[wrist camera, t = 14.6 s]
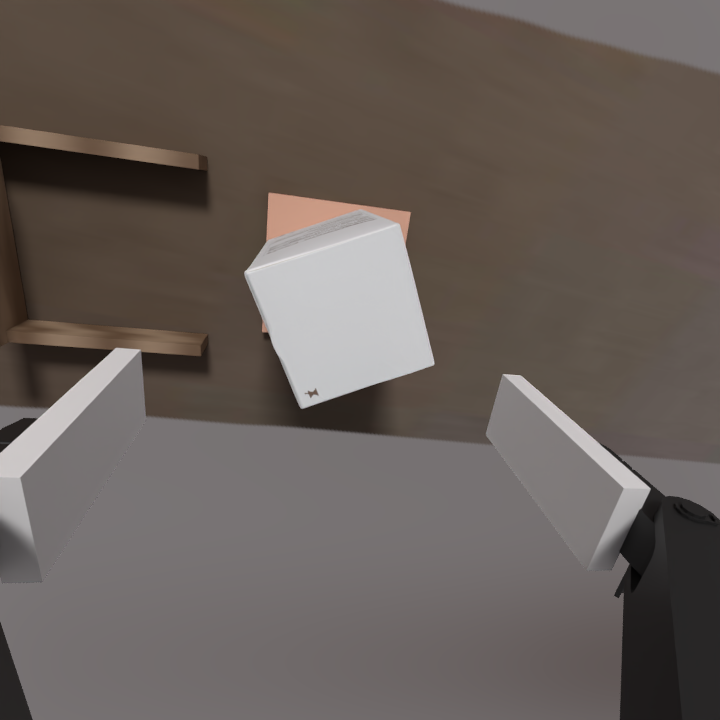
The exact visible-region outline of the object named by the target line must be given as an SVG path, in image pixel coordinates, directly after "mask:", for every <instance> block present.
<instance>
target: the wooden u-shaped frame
mask: <svg viewBox="0 0 720 720" xmlns="http://www.w3.org/2000/svg"><path fill="white" fill-rule="evenodd" d="M0 141H3V142H10V143H17V144H24V145H31V146H38V147H45V148H52V149H59V150H66V151H73V152H80V153H87V154H94V155H101V156H108V157H115V158H122V159H129V160H136V161H143V162H150V163H157V164H164V165H171V166H178V167H185V168H192V169H199V170H206V171H207V157H205V156H202V155H198V154H191V153H184V152H178V151H171V150H164V149H157V148H151V147H144V146H137V145H130V144H124V143H117V142H110V141H104V140H97V139H90V138H83V137H77V136H70V135H63V134H56V133H50V132H43V131H36V130H29V129H23V128H16V127H9V126H2V125H0ZM8 342H11V343H25V344H38V345H52V346H66V347H80V348H94V349H108V350H114V349H115V348H125V349H140V350H141V352H150V353H164V354H178V355H192V356H201V355H202V353H203V351H204V350H205V348H206V346H207V345H208V334H201V333H188V332H176V331H164V330H151V329H139V328H126V327H114V326H101V325H89V324H77V323H64V322H52V321H39V320H28V316H27V310H26V304H25V298H24V292H23V287H22V281H21V275H20V269H19V263H18V257H17V252H16V246H15V240H14V234H13V228H12V222H11V217H10V211H9V205H8V199H7V193H6V188H5V182H4V176H3V170H2V164H1V158H0V346H2V345H4V344H6V343H8Z"/></svg>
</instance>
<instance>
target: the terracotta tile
mask: <svg viewBox="0 0 720 720" xmlns="http://www.w3.org/2000/svg"><path fill="white" fill-rule="evenodd" d="M359 209H362V210H365V211H367V212H370V213H373V214H375V215H378V216H380V217H383V218H386V219H388V220H391V221H394V222H396V223H399V224H400V227H401V231H402V234H403V238H404V242H405V244H406V238H407V232H408V226H409V220H410V214H411V212H407V211H400V210H393V209H386V208H378V207H371V206H364V205H357V204H349V203H342V202H335V201H327V200H320V199H313V198H306V197H298V196H291V195H284V194H277V193H269V198H268V220H267V241H268V240H270V239H272V238H275V237H278V236H281V235H284V234H287V233H290V232H293V231H296V230H299V229H302V228H305V227H308V226H311V225H314V224H317V223H320V222H323V221H326V220H329V219H332V218H335V217H338V216H341V215H344V214H347V213H350V212H353V211H356V210H359ZM267 241H266V242H267ZM262 332H268V330H267V328H266V326H265V323H264V321H263V325H262Z"/></svg>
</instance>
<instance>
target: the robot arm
mask: <svg viewBox="0 0 720 720" xmlns="http://www.w3.org/2000/svg"><path fill="white" fill-rule="evenodd" d="M145 421H146V415H145V401H144V387H143V372H142V358H141V350H140V349H125V348H115V349H114V350H113V351H112V352H111V353H110V354H109V355H108V356H107V357H105V358H104V359H103V360H102V361H101V362H100V363H99V364H98V365H97V366H96V367H94V368H93V369H92V370H91V371H90V372H89V373H88V374H87V375H86V376H85V377H83V378H82V379H81V380H80V381H79V382H78V383H77V384H76V385H75V386H74V387H72V388H71V389H70V390H69V391H68V392H67V393H66V394H65V395H64V396H63V397H61V398H60V399H59V400H58V401H57V402H56V403H55V404H54V405H53V406H52V407H50V408H49V409H48V410H47V411H46V412H45V413H44V414H43V415H42V416H41V417H39V418H38V419H35V418H23V419H21V420H19V421H17V422H15V423H13V424H11V425H9V426H7V427H4V428H2V429H1V430H0V577H1V581H2V583H34V582H43V581H44V579H45V578H46V576H47V574H48V573H49V571H50V570H51V568H52V567H53V565H54V564H55V562H56V560H57V558H58V557H59V556H60V554H61V552H62V551H63V549H64V548H65V546H66V545H67V543H68V542H69V540H70V538H71V537H72V535H73V534H74V532H75V530H76V529H77V528H78V526H79V525H80V523H81V521H82V520H83V518H84V517H85V515H86V514H87V512H88V510H89V509H90V507H91V506H92V504H93V503H94V501H95V500H96V498H97V496H98V495H99V493H100V492H101V490H102V488H103V487H104V485H105V484H106V482H107V481H108V479H109V478H110V476H111V475H112V473H113V471H114V469H115V468H116V467H117V465H118V464H119V462H120V460H121V459H122V457H123V456H124V454H125V453H126V451H127V450H128V448H129V446H130V445H131V443H132V442H133V440H134V439H135V437H136V435H137V434H138V432H139V431H140V429H141V428H142V426H143V425H144V423H145ZM486 436H487V437H488V438H489V440H490V441H491V442H492V444H493V445H494V447H495V448H496V449H497V450H498V452H499V453H500V455H501V456H502V457H503V459H504V460H505V461H506V462H507V464H508V465H509V467H510V468H511V469H512V471H513V472H514V474H515V475H516V476H517V477H518V479H519V480H520V482H521V483H522V484H523V486H524V487H525V488H526V490H527V491H528V492H529V494H530V495H531V497H532V498H533V499H534V501H535V502H536V503H537V505H538V506H539V507H540V509H541V510H542V511H543V513H544V514H545V515H546V517H547V518H548V519H549V521H550V522H551V523H552V525H553V526H554V528H555V529H556V530H557V532H558V533H559V534H560V536H561V537H562V538H563V540H564V541H565V543H566V544H567V545H568V547H569V548H570V549H571V551H572V552H573V553H574V554H575V556H576V557H577V559H578V560H579V561H580V563H581V564H582V565H583V567H584V568H585V570H586V571H599V570H612V568H613V566H614V564H615V562H616V560H617V558H618V556H619V553H621V554H622V555H623V557H624V558H625V559H626V560H627V561H628V562H629V563H630V564H629V566H628V568H627V571H626V573H625V574H624V576H623V578H622V580H621V582H620V584H619V586H618V588H617V590H616V592H615V595H614V596H616V597H618V598H619V596H620V595H621V593H624V605H623V608H624V609H623V637H622V669H621V670H622V671H621V701H620V702H621V703H620V720H720V520H719V519H718V518H717V517H716V516H715V515H714V514H713V513H711V512H710V511H708V510H707V509H705V508H704V507H702V506H700V505H698V504H696V503H694V502H692V501H690V500H687V499H683V498H680V497H673V496H667V497H665V496H664V495H663V494H662V493H661V492H660V491H658V490H657V489H656V488H655V487H653V485H651V484H650V483H649V482H648V481H647V480H645V479H644V478H643V477H642V476H641V475H640V474H639V473H637V472H636V471H635V470H632V468H631V467H630V466H629V465H628V464H627V463H626V462H625V461H622V459H621V458H620V457H619V456H618V455H616V454H615V453H614V452H613V451H612V450H611V449H609V448H607V447H606V446H604V445H602V444H601V443H599V442H597V441H595V440H594V439H593V438H592V437H591V436H590V435H589V434H587V433H586V432H585V431H584V430H583V429H582V428H581V427H579V426H578V425H577V424H576V423H575V422H574V421H573V420H571V419H570V418H569V417H568V416H567V415H566V414H564V413H563V412H562V411H561V410H560V409H559V408H558V407H556V406H555V405H554V404H553V403H552V402H551V401H550V400H548V399H547V398H546V397H545V396H544V395H543V394H542V393H540V392H539V391H538V390H537V389H536V388H535V387H534V386H532V385H531V384H530V383H529V382H528V381H527V380H525V379H524V378H523V377H522V376H521V375H507V374H503V375H502V379H501V382H500V386H499V389H498V393H497V396H496V400H495V403H494V407H493V410H492V414H491V418H490V421H489V425H488V428H487V432H486ZM0 720H32V717H31V714H30V710H29V707H28V705H27V701H26V699H25V695H24V693H23V689H22V686H21V683H20V680H19V677H18V674H17V671H16V668H15V665H14V662H13V659H12V656H11V653H10V650H9V647H8V644H7V641H6V638H5V635H4V632H3V629H2V626H1V623H0Z"/></svg>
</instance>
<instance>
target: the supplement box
mask: <svg viewBox="0 0 720 720" xmlns="http://www.w3.org/2000/svg"><path fill="white" fill-rule="evenodd" d="M244 275H245V278H246V280H247V283H248V285H249V288H250V290H251V292H252V295H253V297H254V299H255V302H256V304H257V306H258V309H259V311H260V314H261V316H262V318H263V321H264V323H265V326H266V328H267V330H268V333H269V335H270V338H271V341H272V344H273V347H274V349H275V351H276V353H277V355H278V357H279V359H280V361H281V364H282V366H283V368H284V371H285V373H286V376H287V378H288V380H289V383H290V385H291V388H292V390H293V393H294V395H295V397H296V399H297V402H298V404H299V406H300V408H301V409H304V408H307V407H310V406H313V405H315V404H318V403H321V402H324V401H327V400H330V399H333V398H336V397H339V396H342V395H345V394H348V393H351V392H354V391H357V390H360V389H362V388H365V387H368V386H371V385H374V384H377V383H381V382H384V381H387V380H390V379H394V378H397V377H400V376H403V375H406V374H410V373H412V372H415V371H418V370H421V369H424V368H427V367H430V366H433V365H434V359H433V355H432V351H431V347H430V342H429V338H428V334H427V330H426V326H425V322H424V318H423V314H422V310H421V306H420V302H419V298H418V294H417V290H416V285H415V281H414V277H413V273H412V270H411V266H410V262H409V258H408V254H407V250H406V246H405V242H404V238H403V234H402V231H401V227H400V224H399V223H396V222H394V221H391V220H388V219H386V218H383V217H380V216H378V215H375V214H373V213H370V212H367V211H365V210H362V209H359V210H356V211H353V212H350V213H347V214H344V215H341V216H338V217H335V218H332V219H329V220H326V221H323V222H320V223H317V224H314V225H311V226H308V227H305V228H302V229H299V230H296V231H293V232H290V233H287V234H284V235H281V236H278V237H275V238H272V239H270V240H268V241H267V242H266V244H265V245H264V247H263V248H262V250H261V251H260V253H259V254H258V255H257V257H256V258H255V260H254V261H253V263H252V264H251V265H250V267H249V268H248V269H247V270H246V271H245V274H244Z"/></svg>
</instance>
